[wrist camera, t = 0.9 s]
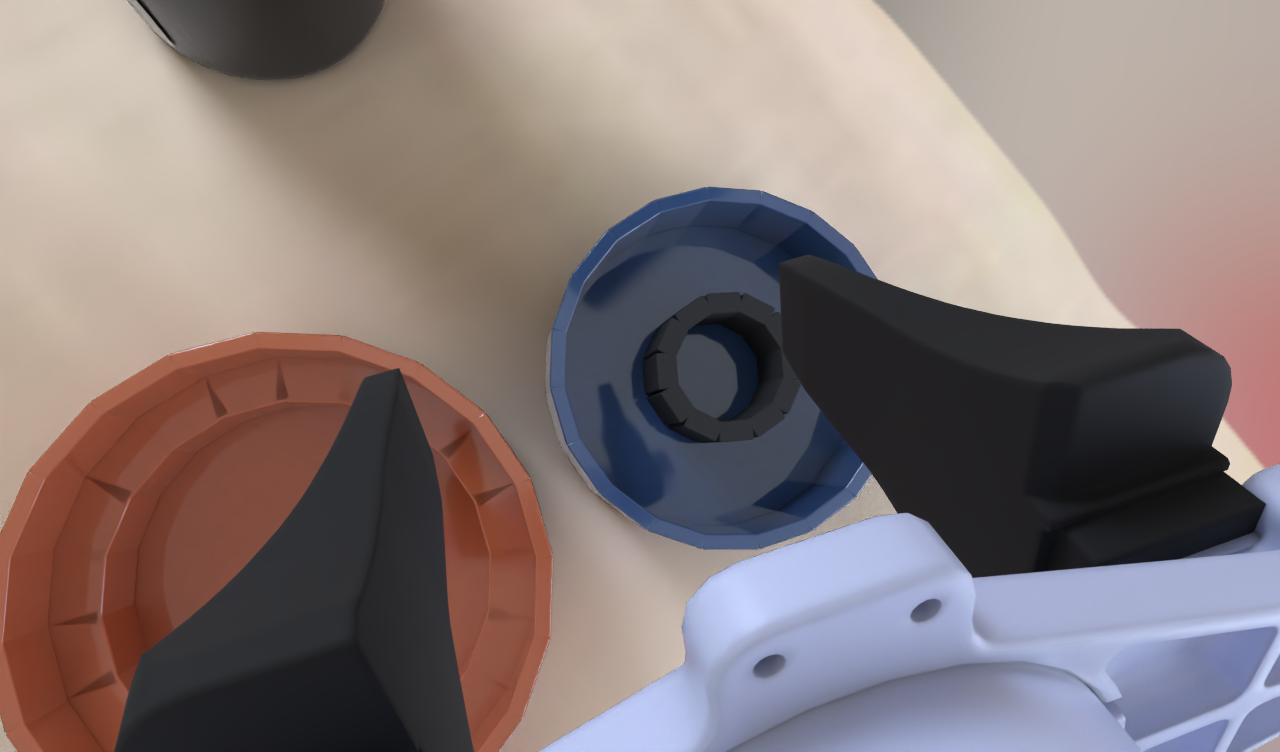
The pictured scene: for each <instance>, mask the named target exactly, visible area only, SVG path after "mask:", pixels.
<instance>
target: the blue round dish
mask: <svg viewBox="0 0 1280 752" xmlns="http://www.w3.org/2000/svg"><path fill="white" fill-rule="evenodd" d="M805 255H812V256H815V257H819V258H822V259H825V260H827V261H830V262H833V263H835V264H838V265H841V266H843V267H846V268H849V269H851V270H854V271H856V272H859V273H861V274H864V275H867V276H869V277H872V278H874V279H877V278H876V276H875V275H874V273H873V272H872V270H871V269H870V267H869V266H868V264H867V263H866V261H865V260H864V258H863V257H862V255H861V254H860V253H859V251H858V250H857V248H856V247H854V244H852V243H851V242H850V241H849V240H847V239H846V238H845V237H844V236H842V235H841V234H840V233H839V232H838V231H836V230H835V229H834V228H833V227H831V226H830V225H829V224H828V223H827V222H825V221H824V220H823V219H822V218H820V217H819V216H818V215H817V214H815V213H814V212H812V211H811V210H808V209H806V208H803V207H801V206H798V205H796V204H793V203H791V202H788V201H786V200H783V199H781V198H778V197H776V196H773V195H771V194H769V193H766V192H764V191H762V192H761V191H760V190H746V189H732V188H718V187H704V188H700V189H696V190H692V191H688V192H684V193H680V194H676V195H672V196H668V197H664V198H660V199H656V200H654V201H651V202H650V203H648V204H647V205H645V206H644V207H642V208H640V209H639V210H637V211H636V212H634V213H633V214H631V215H630V216H628V217H626V218H625V219H623V220H622V221H620V222H619V223H617V224H616V225H614V226H612V227H611V228H609V229H608V230H607V231H606V232H605V233H604V234H603V235H602V237H601V238H600V239H599V240H598V242H597V243H596V244H595V245H594V247H593V248H592V249H591V250H590V252H589V253H588V254H587V255H586V257H585V258H584V259H583V260H582V262H581V263H580V264H579V265H578V267H577V268H576V269H575V271H574V272H573V273H572V275H571V277H570V279H569V282H568V285H567V287H566V290H565V293H564V295H563V298H562V301H561V304H560V306H559V309H558V312H557V314H556V317H555V320H554V323H553V325H552V328H551V331H550V334H549V336H548V339H547V351H546V383H545V393H546V399H547V402H548V406H549V410H550V414H551V418H552V421H553V425H554V428H555V431H556V433H557V436H558V440H559V443H560V445H561V448H562V449H563V451H564V452H565V453H566V455H567V456H568V458H569V460H570V461H571V463H572V465H573V466H574V468H575V469H576V470H577V472H578V473H579V474H580V476H581V477H582V478H583V480H584V481H585V483H586V484H587V486H588V487H589V488H590V489H591V490H592V492H594V493H595V494H596V495H598V496H599V497H600V498H602V499H603V500H604V501H605V502H607V503H608V504H609V505H611V506H612V507H613V508H615V509H616V510H617V511H619V512H620V513H621V514H623V515H624V516H625V517H626V518H628V519H629V520H630V521H632V522H633V523H635V524H637V525H639V526H640V527H642V528H644V529H645V530H648V531H649V532H652V533H655V534H658V535H661V536H664V537H667V538H670V539H673V540H676V541H679V542H682V543H685V544H688V545H690V546H693V547H696V548H699V549H730V550H757V549H762V548H765V547H768V546H771V545H774V544H777V543H780V542H783V541H785V540H788V539H791V538H794V537H797V536H800V535H803V534H806V533H809V532H811V531H813V530H814V529H816V528H817V527H818V526H820V525H821V524H822V523H824V522H825V521H826V520H828V519H829V518H830V517H831V516H833V515H834V514H835V513H837V512H838V511H839V510H841V509H842V508H843V507H845V506H846V505H847V504H848V503H850V502H851V501H852V500H854V499H855V497H857V495H858V494H859V492H860V491H861V489H862V488H863V487H864V485H865V484H866V482H867V481H868V479H869V478H870V476H871V475H872V473H871V472H870V471H869V469H868V468H867V467H866V465H865V464H864V463H863V462H862V461H861V459H860V458H859V457H858V456H857V454H856V453H855V452H854V451H853V449H852V448H851V447H850V446H849V445H848V443H847V442H846V441H845V440H844V438H843V437H842V436H841V435H840V434H839V432H838V431H837V430H836V429H835V427H834V426H833V425H832V424H831V422H830V421H829V420H828V419H827V418H826V416H825V415H824V414H823V412H822V411H821V410H820V409H819V407H818V406H817V405H816V404H815V402H814V401H813V400H812V399H811V397H810V396H809V395H808V393H807V392H806V391H805V389H804V388H803V386H802V384H801V386H800V389H799V391H798V393H797V396H796V398H795V400H794V403H793V405H792V407H791V409H790V412H789V413H788V414H784V416H785V418H784V420H782V421H781V422H779V423H778V424H777V425H775V426H774V427H773V428H771V429H770V430H768V431H767V432H766V433H764V434H763V435H762V436H760V437H754V439H753V440H744V441H732V442H718V443H701V442H695V441H693V440H691V439H689V438H687V437H685V436H683V435H681V434H679V433H676V432H674V431H672V430H670V429H669V428H668V426H669V424H668V425H664V424H663V422H662V421H661V419H660V418H659V416H658V415H657V413H656V412H655V411H654V409H653V408H652V406H651V405H650V403H649V402H648V400H647V398H648V397H649V396H650V395H652V394H649V395H646V394H645V391H644V379H643V367H642V363H643V362H644V361H646V360H645V359H644V358H643V357H644V354H645V352H646V350H647V348H648V346H649V344H650V342H651V339H652V337H653V335H654V333H655V331H656V330H657V329H658V328H659V327H660V325H661V324H662V323H664V322H665V321H666V320H667V319H669V318H670V317H671V316H672V315H674V314H675V313H676V312H678V311H679V310H681V309H682V308H684V307H685V306H687V305H688V304H690V303H691V302H692V301H694V300H695V299H697V298H698V297H700V296H705V295H707V294H710V293H728V292H739V293H740V294H741V295H742V294H744V293H746V294H748V295H750V296H752V297H754V298H756V299H758V300H760V301H762V302H764V303H766V304H768V305H770V306H772V307H774V308H775V310H774V313H776V312H779V313H780V314H781V303H780V279H779V263H780V262H784V261H787V260H791V259H795V258H798V257H802V256H805ZM877 280H878V279H877ZM774 313H773V314H774ZM676 358H677V370H678V381H679V386H680V387H681V389H682V390H683V392H684V393H685V394H686V396H687V397H688V399H689V400H690V402H691V403H692V405H693V406H694V408H695V409H697V410H699V411H701V412H703V413H705V414H707V415H709V416H711V417H714V418H716V419H718V420H720V421H729V420H731V419H732V418H733V417H735V416H736V415H738V414H739V413H740V412H742V411H743V410H744V409H746V408H747V407H749V405H750V402H751V400H752V398H753V396H754V393H755V391H756V389H757V387H758V384H759V380H758V369H757V359H756V356H755V354H754V353H753V351H752V350H751V349H750V347H749V346H748V344H747V343H746V341H745V340H744V338H743V337H742V336H741V335H739V334H737V333H735V332H733V331H731V330H729V329H727V328H725V327H723V326H721V325H719V324H712V325H695V326H693V327H692V328H690V329H689V330H688V332H687V334H686V336H685V338H684V340H683V342H682V344H681V347H680V349H679V351H678V353H677V355H676ZM797 381H799V380H797ZM799 382H800V381H799Z"/></svg>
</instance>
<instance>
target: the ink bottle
mask: <svg viewBox="0 0 1280 752" xmlns="http://www.w3.org/2000/svg"><path fill="white" fill-rule="evenodd" d="M127 1H128V2H129V4H130V5H131V6H132V7H133V8H134V9H135V11H136V12H137V13H138V14H139V15H140V17H141V18H142V19H143V20H144V21H145V22H146V23H147V24H148V26H149V27H150V28H151V29H152V30H153V31H154V32H155V33H156V34H157V35H158V36H159V37H160V38H161V39H162V40H163V41H164V42H166V43H167V44H168V45H169V46H171V47H172V48H173V49H175V50H176V51H177V52H179V53H180V54H182V55H183V56H185V57H187V58H188V59H190V60H192V61H194V62H196V63H198V64H200V65H202V66H205V67H207V68H209V69H212V70H215V71H218V72H221V73H224V74H228V75H232V76H236V77H241V78H248V79H257V80H282V79H291V78H297V77H302V76H307V75H310V74H313V73H316V72H319V71H322V70H324V69H326V68H328V67H330V66H332V65H334V64H336V63H337V62H339V61H340V60H342V59H343V58H345V57H346V56H347V55H349V54H350V53H351V52H352V51H353V50H354V49H355V48H356V47H357V46H358V45H359V44H360V43H361V42H362V41H363V39H364V38H365V37H366V36H367V34H368V33H369V32H370V30H371V29H372V27H373V25H374V24H375V22H376V20H377V18H378V16H379V14H380V12H381V9H382V7H383V4H384V1H385V0H127Z"/></svg>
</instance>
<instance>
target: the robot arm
mask: <svg viewBox="0 0 1280 752" xmlns="http://www.w3.org/2000/svg"><path fill="white" fill-rule="evenodd" d="M779 279H780V303H781V328H782V351H783V353H784V355H785V357H786V358H787V360H788V362H789V364H790V366H791V367H792V369H793V371H794V373H795V374H796V376H797V378H798V379H799V381H800V383H801V384H802V386H803V388H804V389H805V391H806V392H807V393H808V395H809V396H810V397H811V399H812V400H813V401H814V402H815V404H816V405H817V406H818V407H819V409H820V410H821V411H822V412H823V414H824V415H825V416H826V418H827V419H828V420H829V421H830V422H831V424H832V425H833V426H834V427H835V429H836V430H837V431H838V432H839V434H840V435H841V436H842V437H843V438H844V440H845V441H846V442H847V443H848V445H849V446H850V447H851V448H852V449H853V451H854V452H855V453H856V454H857V456H858V457H859V458H860V459H861V461H862V462H863V463H864V464H865V465H866V467H867V468H868V469H869V471H870V472H871V473H872V475H873V476H874V478H875V479H876V480H877V482H878V483H879V484H880V486H881V488H882V489H883V491H884V492H885V494H886V495H887V497H888V499H889V500H890V502H891V503H892V505H893V507H894V508H895V510H896V511H897V513H898V514H892V515H884V516H876V517H872V518H869V519H866V520H863V521H860V522H857V523H854V524H851V525H848V526H845V527H842V528H839V529H836V530H833V531H830V532H827V533H824V534H821V535H818V536H815V537H812V538H809V539H806V540H803V541H800V542H797V543H794V544H791V545H788V546H785V547H782V548H779V549H776V550H773V551H770V552H767V553H764V554H761V555H758V556H755V557H752V558H749V559H746V560H743V561H740V562H737V563H735V564H733V565H731V566H730V567H728V568H726V569H724V570H722V571H720V572H718V573H716V574H715V575H713V576H711V577H709V578H708V579H707V580H706V582H705V583H704V584H703V585H702V586H701V587H700V588H699V589H698V591H697V592H696V593H695V594H694V595H693V596H692V597H691V599H690V600H689V601H688V603H687V604H686V609H685V614H684V619H683V623H682V633H683V639H684V644H685V650H686V653H685V663H684V664H683V665H682V666H680V667H678V668H677V669H675V670H673V671H672V672H670V673H668V674H667V675H665V676H663V677H662V678H660V679H658V680H657V681H655V682H653V683H652V684H650V685H648V686H647V687H645V688H643V689H642V690H640V691H638V692H637V693H635V694H633V695H631V696H630V697H628V698H626V699H625V700H623V701H621V702H620V703H618V704H616V705H615V706H613V707H611V708H610V709H608V710H606V711H605V712H603V713H601V714H600V715H598V716H596V717H595V718H593V719H591V720H590V721H588V722H586V723H585V724H583V725H581V726H580V727H578V728H576V729H575V730H573V731H571V732H570V733H568V734H566V735H565V736H563V737H561V738H560V739H558V740H556V741H555V742H553V743H551V744H550V745H548V746H546V747H545V748H543V749H541V750H540V751H538V752H1251V751H1252V750H1254V749H1256V748H1258V747H1259V746H1261V745H1263V744H1265V743H1267V742H1269V741H1270V740H1272V739H1274V738H1276V737H1278V736H1280V464H1278V465H1275V466H1272V467H1269V468H1266V469H1263V470H1261V471H1259V472H1257V473H1256V474H1254V475H1252V476H1251V477H1250V478H1249V479H1248V480H1247V481H1245V482H1244V484H1243V485H1240V484H1239V483H1238V482H1237V481H1235V480H1234V479H1233V478H1231V477H1230V476H1229V475H1227V474H1226V473H1225V472H1223V471H1225V470H1228V468H1229V465H1230V462H1229V460H1228V458H1227V457H1226V456H1224V455H1223V454H1222V453H1220V452H1219V451H1217V450H1216V449H1215V448H1213V447H1212V443H1213V441H1214V438H1215V435H1216V432H1217V430H1218V427H1219V424H1220V422H1221V419H1222V416H1223V414H1224V411H1225V408H1226V406H1227V403H1228V399H1229V395H1230V391H1231V386H1232V379H1231V368H1230V366H1229V364H1228V363H1227V361H1226V359H1225V358H1224V356H1222V355H1220V354H1219V353H1217V352H1216V351H1214V350H1212V349H1211V348H1209V347H1208V346H1206V345H1205V344H1203V343H1202V342H1200V341H1198V340H1197V339H1195V338H1194V337H1192V336H1191V335H1189V334H1187V333H1186V332H1184V331H1183V330H1181V329H1118V328H1099V327H1084V326H1071V325H1062V324H1052V323H1044V322H1037V321H1031V320H1024V319H1017V318H1011V317H1005V316H1000V315H995V314H990V313H986V312H982V311H977V310H973V309H968V308H964V307H960V306H956V305H952V304H949V303H945V302H942V301H939V300H936V299H932V298H929V297H926V296H923V295H919V294H916V293H913V292H910V291H907V290H905V289H902V288H899V287H896V286H893V285H890V284H888V283H885V282H882V281H880V280H877V279H874V278H872V277H869V276H867V275H864V274H861V273H859V272H856V271H854V270H851V269H849V268H846V267H843V266H841V265H838V264H835V263H833V262H830V261H827V260H825V259H822V258H819V257H815V256H812V255H805V256H802V257H798V258H795V259H791V260H787V261H784V262H780V263H779ZM114 752H474V749H473V744H472V739H471V734H470V729H469V724H468V719H467V713H466V708H465V703H464V697H463V692H462V686H461V681H460V676H459V670H458V665H457V659H456V653H455V647H454V642H453V636H452V630H451V624H450V615H449V606H448V592H447V574H446V557H445V539H444V523H443V508H442V498H441V493H440V487H439V482H438V477H437V472H436V467H435V462H434V457H433V453H432V451H431V448H430V445H429V443H428V440H427V438H426V435H425V433H424V430H423V427H422V425H421V422H420V420H419V417H418V415H417V412H416V409H415V407H414V404H413V402H412V399H411V397H410V394H409V391H408V389H407V386H406V384H405V381H404V379H403V376H402V373H401V371H400V368H397V369H393V370H389V371H386V372H382V373H379V374H375V375H371V376H368V377H365V378H364V379H363V381H362V383H361V384H360V386H359V389H358V391H357V393H356V396H355V398H354V400H353V403H352V405H351V407H350V409H349V412H348V414H347V416H346V418H345V420H344V422H343V425H342V427H341V429H340V431H339V433H338V435H337V437H336V439H335V441H334V443H333V444H332V446H331V448H330V450H329V452H328V454H327V456H326V458H325V460H324V461H323V463H322V465H321V466H320V468H319V470H318V472H317V473H316V475H315V477H314V478H313V480H312V482H311V483H310V485H309V487H308V488H307V490H306V491H305V493H304V495H303V496H302V498H301V499H300V501H299V502H298V504H297V505H296V506H295V508H294V509H293V510H292V512H291V513H290V514H289V516H288V517H287V518H286V519H285V521H284V522H283V523H282V525H281V526H280V527H279V528H278V530H277V531H276V532H275V533H274V534H273V536H272V537H271V538H270V539H269V540H268V541H267V542H266V543H265V544H264V546H263V547H262V548H261V549H260V550H259V551H258V552H257V553H256V555H255V556H254V557H253V558H252V559H251V560H250V561H249V562H248V563H247V565H246V566H245V567H244V568H243V569H242V570H241V571H240V572H239V573H238V574H237V575H236V576H235V577H234V578H233V579H232V580H231V581H230V582H229V583H228V584H227V585H226V586H225V587H223V588H222V589H221V590H220V591H219V592H218V593H217V594H216V595H215V596H214V597H213V598H211V599H210V600H209V601H208V602H207V603H206V604H205V605H204V606H203V607H201V608H200V609H199V610H198V611H197V612H196V613H194V614H193V615H192V616H191V617H190V618H188V619H187V620H186V621H185V622H183V623H182V624H181V625H180V626H178V627H177V628H176V629H174V630H173V631H172V632H171V633H169V634H168V635H167V636H166V637H164V638H163V639H162V640H161V641H159V642H158V643H157V644H156V645H154V646H153V647H152V648H150V649H149V650H148V651H146V652H145V653H143V654H142V655H141V657H140V660H139V663H138V666H137V669H136V671H135V674H134V677H133V680H132V683H131V685H130V689H129V693H128V697H127V700H126V704H125V708H124V712H123V716H122V721H121V725H120V729H119V733H118V737H117V741H116V746H115V750H114Z"/></svg>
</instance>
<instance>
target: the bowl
mask: <svg viewBox="0 0 1280 752" xmlns="http://www.w3.org/2000/svg"><path fill="white" fill-rule="evenodd" d="M397 368H400V371H401V373H402V376H403V379H404V381H405V384H406V386H407V389H408V391H409V394H410V397H411V399H412V402H413V404H414V407H415V409H416V412H417V415H418V417H419V420H420V422H421V425H422V427H423V430H424V433H425V435H426V438H427V440H428V443H429V445H430V448H431V451H432V453H433V457H434V462H435V467H436V472H437V477H438V482H439V487H440V493H441V498H442V508H443V523H444V539H445V557H446V574H447V592H448V606H449V615H450V624H451V630H452V636H453V642H454V647H455V653H456V659H457V665H458V670H459V676H460V681H461V686H462V692H463V697H464V703H465V708H466V713H467V719H468V724H469V729H470V734H471V739H472V744H473V749H474V752H499V750H500V749H501V747H502V746H503V745H504V743H505V742H506V740H507V739H508V738H509V736H510V735H511V734H512V732H513V731H514V729H515V728H516V727H517V725H518V724H519V723H520V721H521V720H522V717H523V716H524V713H525V711H526V708H527V705H528V702H529V699H530V696H531V693H532V690H533V687H534V685H535V682H536V679H537V676H538V673H539V670H540V667H541V664H542V661H543V659H544V656H545V653H546V650H547V647H548V644H549V641H550V636H551V614H552V580H553V556H552V555H553V553H552V549H551V546H550V543H549V539H548V536H547V532H546V529H545V525H544V522H543V519H542V515H541V512H540V508H539V505H538V501H537V498H536V495H535V491H534V488H533V484H532V481H531V479H530V476H529V475H528V473H527V472H526V471H525V469H524V468H523V466H522V465H521V463H520V462H519V460H518V459H517V457H516V456H515V455H514V453H513V452H512V450H511V449H510V447H509V446H508V444H507V443H506V441H505V440H504V439H503V437H502V436H501V434H500V433H499V431H498V430H497V428H496V427H495V425H494V424H493V423H492V421H491V420H490V418H489V417H488V415H487V414H486V413H485V412H484V411H483V410H482V409H480V408H479V407H478V406H476V405H475V404H474V403H473V402H471V401H470V400H469V399H467V398H466V397H465V396H463V395H462V394H461V393H459V392H458V391H457V390H455V389H454V388H453V387H452V386H450V385H449V384H448V383H446V382H445V381H444V380H442V379H441V378H440V377H438V376H437V375H436V374H434V373H433V372H432V371H431V370H429V369H428V368H427V367H425V366H424V365H423V364H420V363H419V362H416V361H413V360H411V359H408V358H405V357H402V356H399V355H396V354H394V353H391V352H388V351H385V350H382V349H380V348H377V347H374V346H371V345H368V344H365V343H363V342H360V341H357V340H354V339H351V338H349V337H346V336H341V335H324V334H299V333H274V332H256V333H255V332H253V333H249V334H245V335H241V336H237V337H233V338H230V339H226V340H222V341H218V342H214V343H210V344H206V345H202V346H199V347H195V348H191V349H187V350H183V351H179V352H175V353H171V354H170V355H167V356H165V357H163V358H162V359H160V360H158V361H157V362H155V363H153V364H152V365H150V366H148V367H147V368H145V369H144V370H142V371H140V372H139V373H137V374H135V375H134V376H132V377H130V378H129V379H127V380H125V381H124V382H122V383H120V384H119V385H117V386H115V387H114V388H112V389H110V390H109V391H107V392H105V393H104V394H102V395H101V396H99V397H97V398H96V399H94V400H92V401H91V403H89V404H88V405H87V406H86V407H85V408H84V409H83V410H82V412H81V413H80V414H79V415H78V416H77V417H76V418H75V419H74V421H73V422H72V423H71V424H70V425H69V426H68V427H67V428H66V429H65V431H64V432H63V433H62V434H61V435H60V436H59V437H58V438H57V440H56V441H55V442H54V443H53V444H52V445H51V446H50V447H49V448H48V450H47V451H46V452H45V453H44V454H43V455H42V456H41V457H40V458H39V460H38V461H37V462H36V463H35V464H34V465H33V466H32V467H31V469H30V470H29V471H30V472H28V473H27V475H26V477H25V480H24V482H23V484H22V486H21V488H20V491H19V493H18V495H17V497H16V500H15V502H14V504H13V506H12V509H11V511H10V513H9V515H8V518H7V520H6V522H5V524H4V527H3V529H2V531H1V533H0V716H1V719H2V723H3V727H4V731H5V733H7V734H6V735H7V737H8V738H9V740H10V741H11V743H12V744H13V745H14V747H15V748H16V750H17V751H18V752H114V750H115V746H116V741H117V737H118V733H119V729H120V725H121V721H122V716H123V712H124V708H125V704H126V700H127V697H128V693H129V689H130V685H131V683H132V680H133V677H134V674H135V671H136V669H137V666H138V663H139V660H140V657H141V655H142V654H143V653H145V652H146V651H148V650H149V649H150V648H152V647H153V646H154V645H156V644H157V643H158V642H159V641H161V640H162V639H163V638H164V637H166V636H167V635H168V634H169V633H171V632H172V631H173V630H174V629H176V628H177V627H178V626H180V625H181V624H182V623H183V622H185V621H186V620H187V619H188V618H190V617H191V616H192V615H193V614H194V613H196V612H197V611H198V610H199V609H200V608H201V607H203V606H204V605H205V604H206V603H207V602H208V601H209V600H210V599H211V598H213V597H214V596H215V595H216V594H217V593H218V592H219V591H220V590H221V589H222V588H223V587H225V586H226V585H227V584H228V583H229V582H230V581H231V580H232V579H233V578H234V577H235V576H236V575H237V574H238V573H239V572H240V571H241V570H242V569H243V568H244V567H245V566H246V565H247V563H248V562H249V561H250V560H251V559H252V558H253V557H254V556H255V555H256V553H257V552H258V551H259V550H260V549H261V548H262V547H263V546H264V544H265V543H266V542H267V541H268V540H269V539H270V538H271V537H272V536H273V534H274V533H275V532H276V531H277V530H278V528H279V527H280V526H281V525H282V523H283V522H284V521H285V519H286V518H287V517H288V516H289V514H290V513H291V512H292V510H293V509H294V508H295V506H296V505H297V504H298V502H299V501H300V499H301V498H302V496H303V495H304V493H305V491H306V490H307V488H308V487H309V485H310V483H311V482H312V480H313V478H314V477H315V475H316V473H317V472H318V470H319V468H320V466H321V465H322V463H323V461H324V460H325V458H326V456H327V454H328V452H329V450H330V448H331V446H332V444H333V443H334V441H335V439H336V437H337V435H338V433H339V431H340V429H341V427H342V425H343V422H344V420H345V418H346V416H347V414H348V412H349V409H350V407H351V405H352V403H353V400H354V398H355V396H356V393H357V391H358V389H359V386H360V384H361V383H362V381H363V379H364V378H365V377H368V376H371V375H375V374H379V373H382V372H386V371H389V370H393V369H397Z"/></svg>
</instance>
